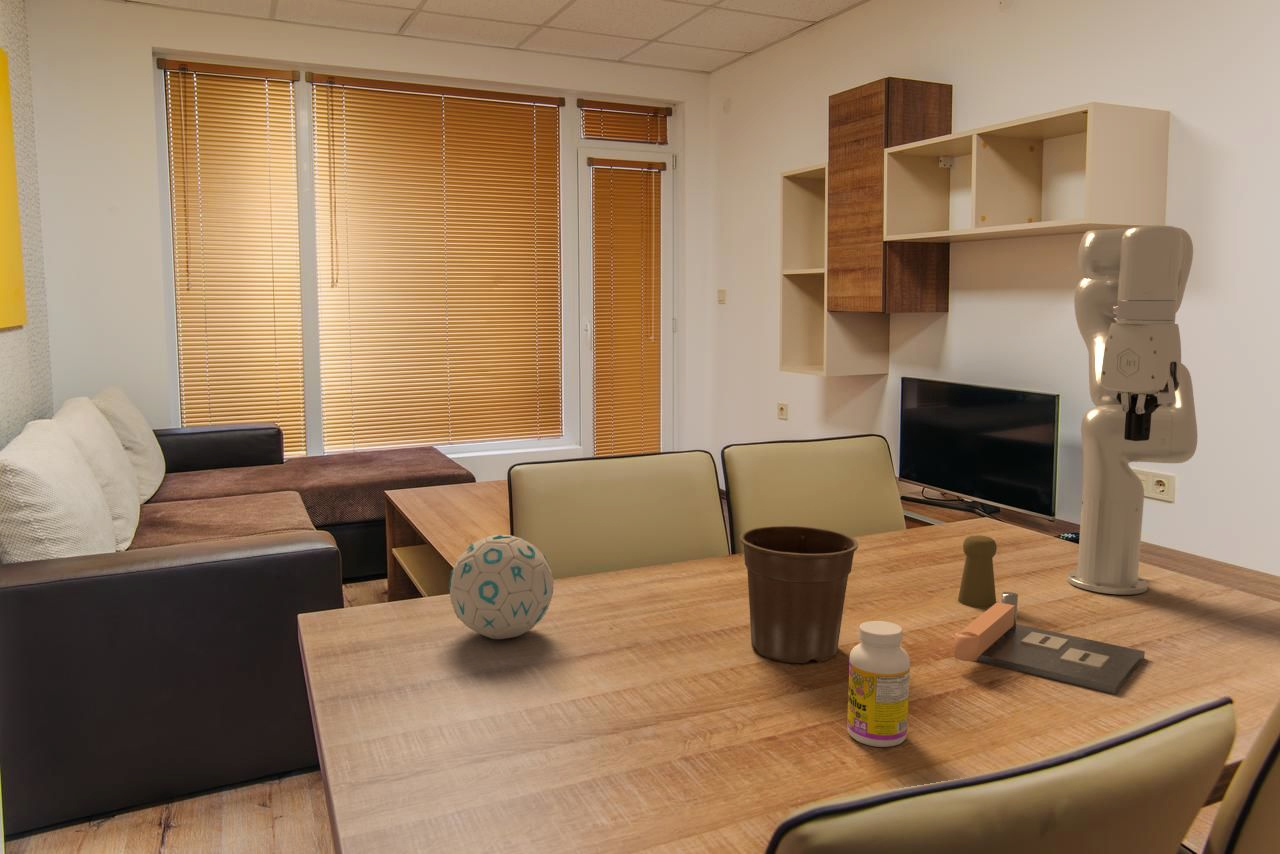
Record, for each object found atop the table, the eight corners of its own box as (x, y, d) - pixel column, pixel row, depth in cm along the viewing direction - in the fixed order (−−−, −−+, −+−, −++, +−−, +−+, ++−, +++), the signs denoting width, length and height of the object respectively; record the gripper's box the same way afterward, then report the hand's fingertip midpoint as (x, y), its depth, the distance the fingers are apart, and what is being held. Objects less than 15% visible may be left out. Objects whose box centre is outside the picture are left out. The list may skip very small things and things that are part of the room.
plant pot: (860, 636, 140) (864, 530, 138) (846, 677, 125) (850, 558, 123) (751, 624, 145) (753, 521, 143) (726, 661, 130) (728, 547, 128)
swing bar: (994, 621, 141) (995, 601, 140) (1015, 625, 139) (1016, 605, 139) (950, 657, 126) (951, 636, 126) (973, 663, 124) (974, 641, 124)
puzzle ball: (430, 635, 140) (427, 536, 138) (509, 611, 150) (508, 519, 149) (494, 662, 129) (492, 555, 127) (575, 634, 140) (574, 535, 138)
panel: (998, 626, 144) (1000, 588, 144) (1144, 658, 132) (1147, 616, 131) (959, 656, 132) (961, 615, 131) (1115, 694, 119) (1118, 648, 119)
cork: (999, 608, 153) (1002, 542, 151) (960, 606, 154) (963, 540, 153) (993, 597, 159) (996, 533, 157) (955, 595, 160) (958, 531, 158)
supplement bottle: (839, 724, 111) (842, 618, 109) (894, 722, 111) (899, 616, 110) (857, 750, 104) (861, 638, 103) (915, 748, 105) (920, 636, 103)
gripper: (1084, 313, 142) (1076, 434, 144) (1174, 314, 128) (1163, 448, 130) (1120, 313, 145) (1112, 432, 147) (1212, 314, 131) (1201, 445, 133)
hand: (1136, 439), depth 139 cm, fingers closed
